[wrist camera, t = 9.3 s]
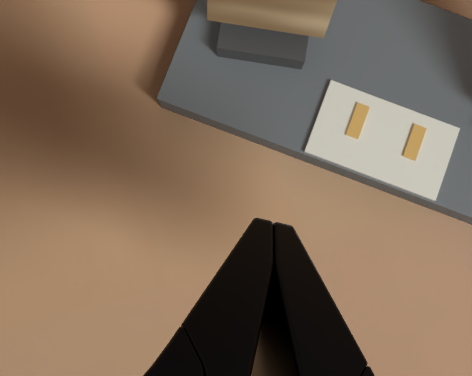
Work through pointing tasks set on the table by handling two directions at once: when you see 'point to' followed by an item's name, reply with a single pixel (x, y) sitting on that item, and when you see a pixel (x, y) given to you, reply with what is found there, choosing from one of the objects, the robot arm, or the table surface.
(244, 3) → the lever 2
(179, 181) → the table surface
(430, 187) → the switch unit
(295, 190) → the table surface
